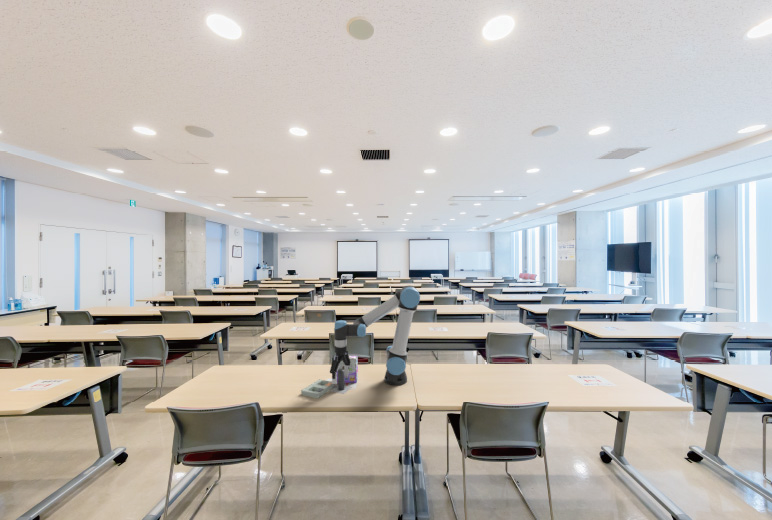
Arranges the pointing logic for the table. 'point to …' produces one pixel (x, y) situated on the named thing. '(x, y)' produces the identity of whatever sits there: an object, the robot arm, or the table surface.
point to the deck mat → (341, 390)
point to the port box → (317, 388)
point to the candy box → (350, 370)
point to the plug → (341, 379)
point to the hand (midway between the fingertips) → (340, 379)
